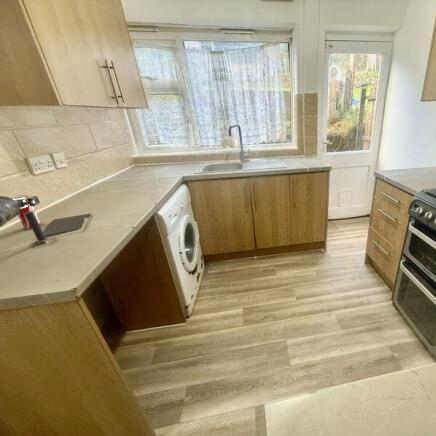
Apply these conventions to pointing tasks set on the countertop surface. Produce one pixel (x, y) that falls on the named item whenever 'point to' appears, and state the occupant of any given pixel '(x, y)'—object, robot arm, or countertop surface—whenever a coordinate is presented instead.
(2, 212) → the robot arm
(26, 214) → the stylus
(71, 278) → the countertop surface
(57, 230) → the tablet
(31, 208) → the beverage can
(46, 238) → the dock
